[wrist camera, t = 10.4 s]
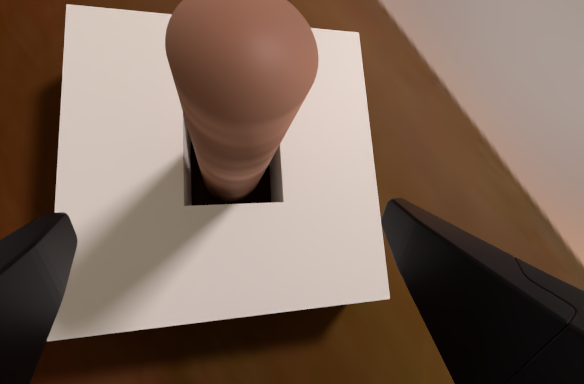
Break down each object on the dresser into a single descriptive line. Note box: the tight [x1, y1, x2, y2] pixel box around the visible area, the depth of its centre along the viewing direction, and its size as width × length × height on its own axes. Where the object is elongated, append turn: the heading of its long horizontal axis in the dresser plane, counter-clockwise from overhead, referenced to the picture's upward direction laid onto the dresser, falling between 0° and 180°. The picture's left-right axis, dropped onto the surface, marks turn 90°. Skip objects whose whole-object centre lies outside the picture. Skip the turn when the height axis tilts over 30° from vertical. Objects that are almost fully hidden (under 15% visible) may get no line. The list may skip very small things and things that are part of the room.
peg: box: [165, 0, 319, 202], centre depth 13 cm, size 4×4×13 cm
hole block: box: [47, 4, 390, 342], centre depth 18 cm, size 16×16×4 cm
